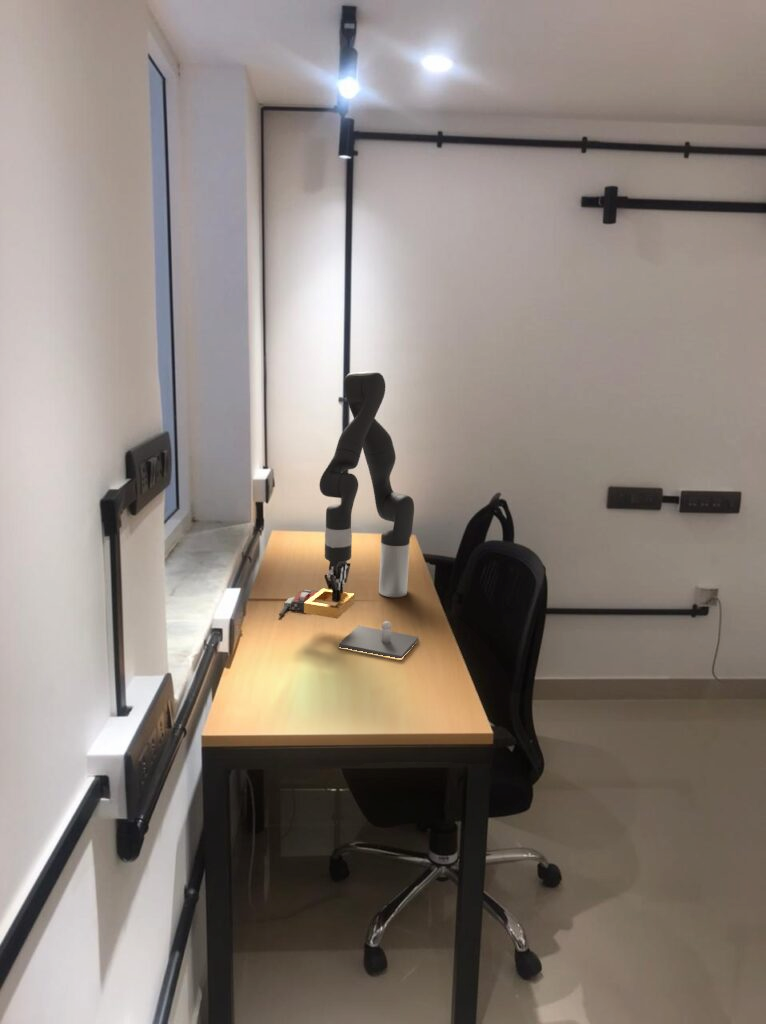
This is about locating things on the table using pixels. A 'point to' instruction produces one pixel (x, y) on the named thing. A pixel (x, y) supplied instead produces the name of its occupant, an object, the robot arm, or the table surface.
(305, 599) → the walkie-talkie
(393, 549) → the robot arm
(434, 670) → the table surface
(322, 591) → the link ring
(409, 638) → the plate
